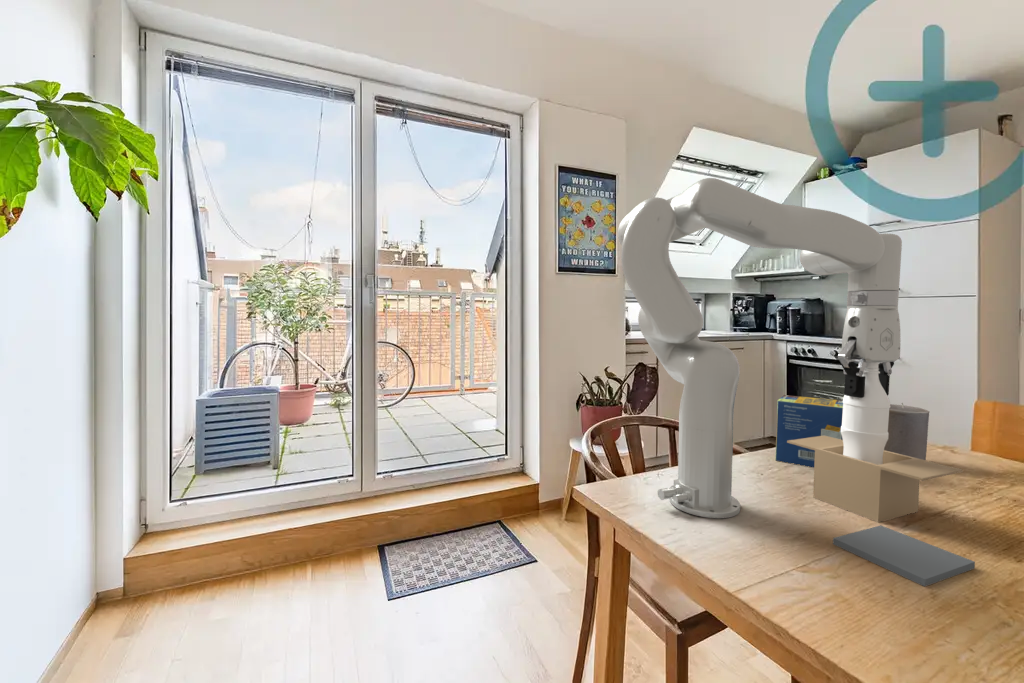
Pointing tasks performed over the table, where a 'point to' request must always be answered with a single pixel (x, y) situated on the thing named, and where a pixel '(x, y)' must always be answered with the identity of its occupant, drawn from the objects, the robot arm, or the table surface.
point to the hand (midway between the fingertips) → (866, 394)
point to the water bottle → (866, 420)
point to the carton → (869, 479)
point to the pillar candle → (907, 431)
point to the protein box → (805, 425)
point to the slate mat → (904, 555)
